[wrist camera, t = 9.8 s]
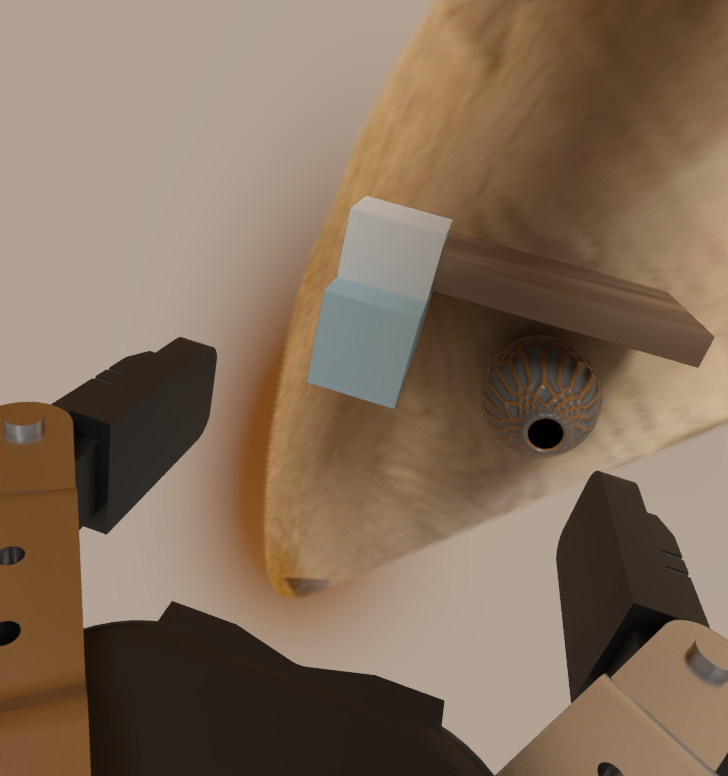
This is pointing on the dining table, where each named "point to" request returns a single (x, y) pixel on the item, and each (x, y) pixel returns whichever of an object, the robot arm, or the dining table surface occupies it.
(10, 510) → the robot arm
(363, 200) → the cabinet
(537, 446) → the vase
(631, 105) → the dining table surface
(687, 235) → the dining table surface
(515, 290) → the wall board
